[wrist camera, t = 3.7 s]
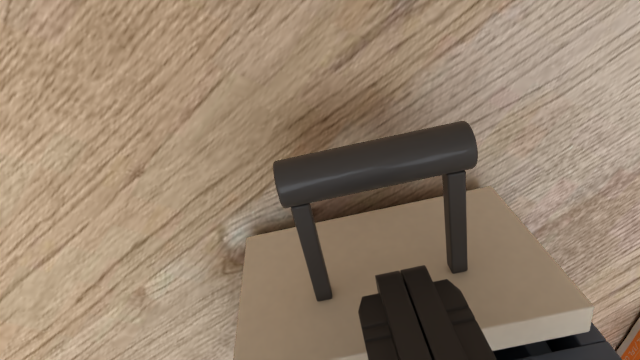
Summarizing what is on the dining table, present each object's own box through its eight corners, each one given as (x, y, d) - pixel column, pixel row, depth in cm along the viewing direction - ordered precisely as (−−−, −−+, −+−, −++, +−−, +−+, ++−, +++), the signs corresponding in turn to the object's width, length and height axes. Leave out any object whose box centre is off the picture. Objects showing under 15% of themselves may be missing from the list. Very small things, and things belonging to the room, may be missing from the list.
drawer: (205, 125, 17) (160, 239, 10) (492, 62, 16) (628, 140, 10) (306, 404, 26) (315, 552, 20) (488, 367, 26) (555, 506, 20)
